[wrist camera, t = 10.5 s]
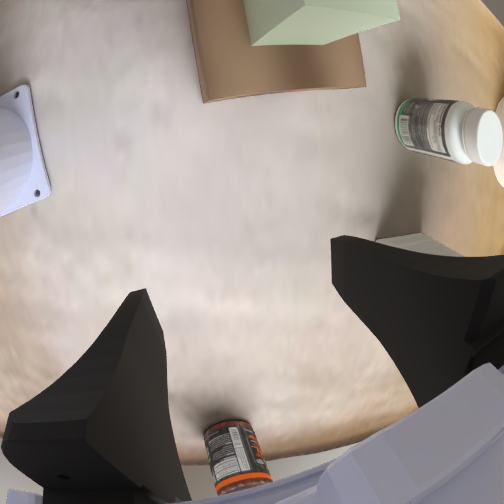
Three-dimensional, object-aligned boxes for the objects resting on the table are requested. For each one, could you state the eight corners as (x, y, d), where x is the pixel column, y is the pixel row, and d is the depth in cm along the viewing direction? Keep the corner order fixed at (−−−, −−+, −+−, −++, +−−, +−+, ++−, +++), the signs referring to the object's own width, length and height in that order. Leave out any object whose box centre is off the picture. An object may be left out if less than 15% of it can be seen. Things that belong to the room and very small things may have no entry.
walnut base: (203, 103, 17) (209, 99, 15) (182, -27, 13) (186, -47, 10) (342, 88, 19) (366, 87, 16) (319, -27, 14) (339, -41, 12)
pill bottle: (435, 119, 22) (510, 133, 14) (416, 160, 23) (492, 185, 16) (405, 86, 20) (486, 90, 13) (384, 130, 21) (467, 146, 14)
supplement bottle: (258, 433, 33) (288, 508, 23) (214, 448, 32) (236, 524, 22) (242, 411, 30) (274, 499, 20) (194, 428, 29) (214, 516, 19)
